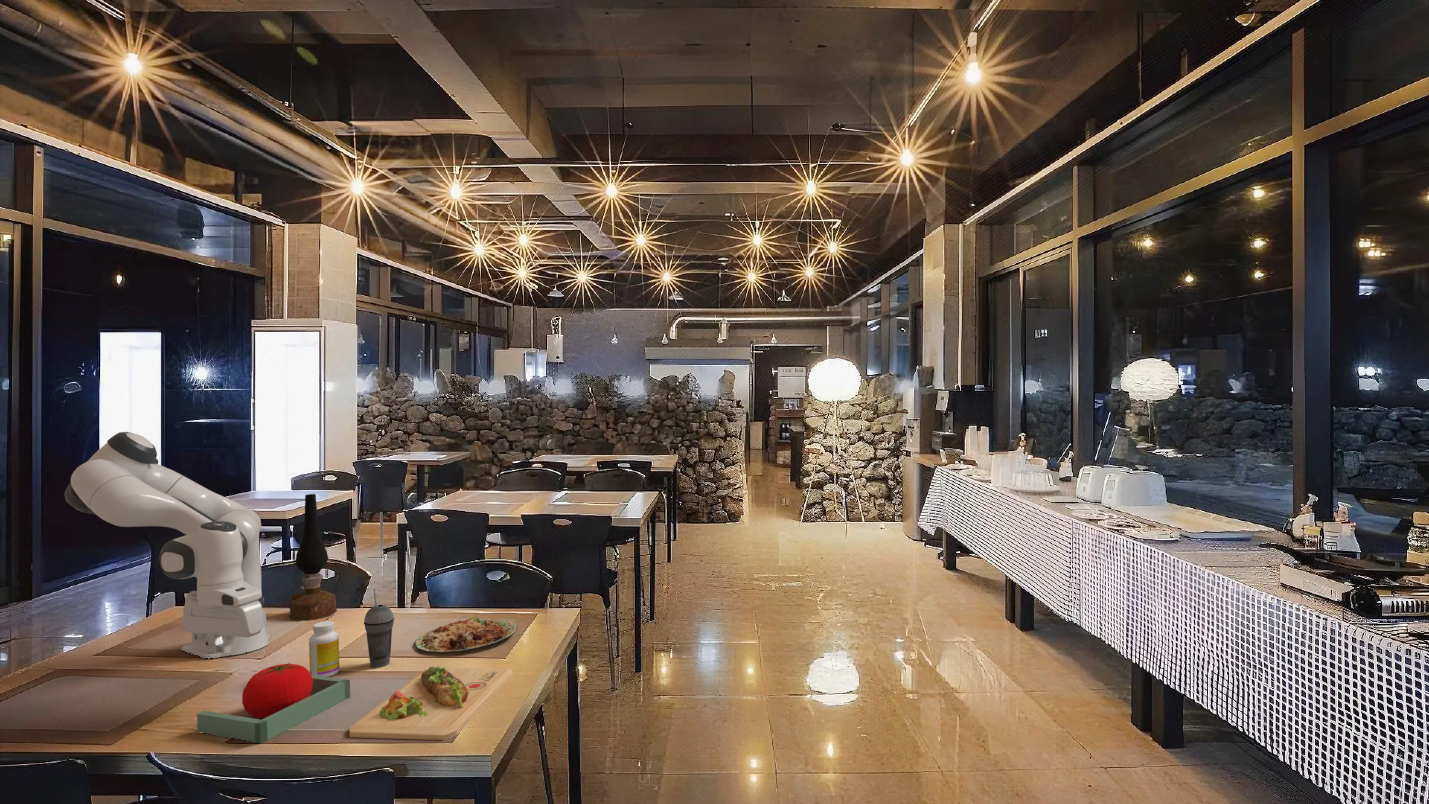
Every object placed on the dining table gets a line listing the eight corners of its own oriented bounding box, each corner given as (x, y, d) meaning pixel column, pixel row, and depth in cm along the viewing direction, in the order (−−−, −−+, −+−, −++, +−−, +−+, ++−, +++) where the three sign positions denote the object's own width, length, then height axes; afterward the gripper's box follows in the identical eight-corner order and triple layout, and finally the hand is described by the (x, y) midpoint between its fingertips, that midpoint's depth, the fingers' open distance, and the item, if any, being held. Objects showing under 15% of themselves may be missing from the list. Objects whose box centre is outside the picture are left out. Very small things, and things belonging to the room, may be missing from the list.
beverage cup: (383, 670, 182) (381, 592, 181) (358, 668, 183) (356, 591, 183) (401, 660, 189) (399, 585, 189) (377, 658, 190) (375, 584, 190)
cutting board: (451, 743, 144) (451, 706, 144) (343, 740, 146) (342, 703, 146) (516, 675, 179) (515, 645, 179) (427, 673, 181) (427, 644, 181)
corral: (197, 732, 149) (197, 713, 149) (292, 688, 171) (292, 672, 171) (260, 743, 144) (260, 723, 144) (350, 696, 166) (349, 679, 166)
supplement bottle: (345, 670, 182) (344, 621, 182) (323, 680, 176) (322, 629, 176) (325, 667, 184) (324, 618, 184) (303, 677, 178) (302, 626, 178)
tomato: (282, 729, 150) (281, 680, 150) (227, 726, 152) (226, 678, 151) (327, 700, 164) (326, 655, 164) (276, 698, 166) (275, 654, 166)
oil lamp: (344, 620, 235) (370, 500, 239) (303, 626, 221) (332, 499, 225) (314, 611, 240) (340, 494, 244) (273, 616, 226) (301, 492, 230)
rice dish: (393, 654, 197) (391, 635, 197) (460, 620, 223) (460, 603, 223) (475, 666, 187) (474, 645, 187) (536, 628, 213) (535, 611, 213)
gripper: (173, 594, 163) (175, 653, 163) (242, 599, 157) (244, 661, 157) (200, 586, 169) (202, 644, 169) (267, 591, 163) (269, 651, 163)
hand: (223, 652), depth 163 cm, fingers closed
